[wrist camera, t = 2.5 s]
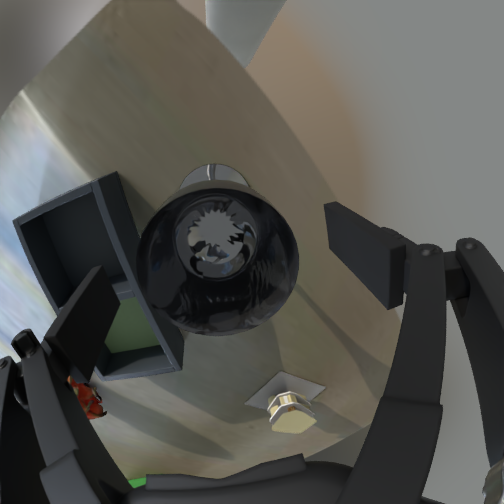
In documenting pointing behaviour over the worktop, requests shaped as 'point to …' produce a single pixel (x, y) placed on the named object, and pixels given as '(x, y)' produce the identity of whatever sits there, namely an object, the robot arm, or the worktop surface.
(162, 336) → the divided tray
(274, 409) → the stacked layers on plate
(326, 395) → the worktop surface
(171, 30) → the worktop surface
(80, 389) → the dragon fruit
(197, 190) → the wine glass
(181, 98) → the worktop surface
